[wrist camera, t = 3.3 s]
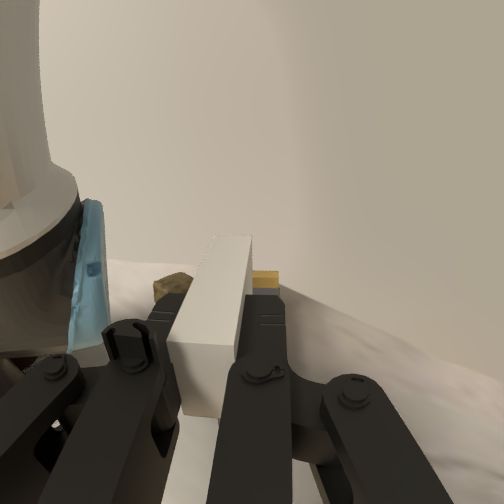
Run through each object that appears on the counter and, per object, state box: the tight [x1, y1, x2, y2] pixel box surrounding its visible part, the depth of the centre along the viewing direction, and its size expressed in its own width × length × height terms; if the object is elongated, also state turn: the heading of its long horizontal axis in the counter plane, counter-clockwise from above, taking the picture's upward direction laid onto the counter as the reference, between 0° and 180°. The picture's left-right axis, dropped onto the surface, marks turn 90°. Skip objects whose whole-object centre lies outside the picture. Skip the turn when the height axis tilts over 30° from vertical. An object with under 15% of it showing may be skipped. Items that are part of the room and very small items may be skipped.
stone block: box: [153, 272, 194, 303], centre depth 46 cm, size 6×12×5 cm, turn 47°
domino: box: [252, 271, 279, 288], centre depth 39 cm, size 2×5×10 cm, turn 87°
